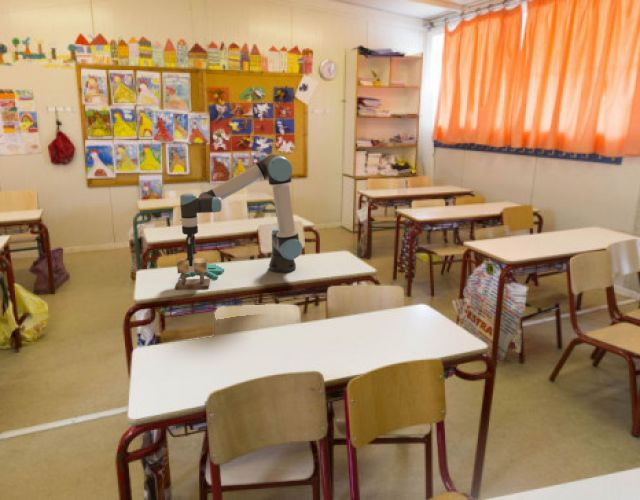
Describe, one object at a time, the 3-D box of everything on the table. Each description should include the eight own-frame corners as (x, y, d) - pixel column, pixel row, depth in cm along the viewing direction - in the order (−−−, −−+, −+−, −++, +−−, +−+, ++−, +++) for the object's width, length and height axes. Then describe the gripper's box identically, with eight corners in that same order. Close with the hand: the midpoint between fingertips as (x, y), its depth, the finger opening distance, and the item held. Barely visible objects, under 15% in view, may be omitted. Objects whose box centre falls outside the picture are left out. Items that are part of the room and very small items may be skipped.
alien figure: (216, 280, 257) (227, 268, 276) (216, 276, 256) (227, 264, 276) (180, 278, 259) (193, 267, 278) (180, 274, 258) (193, 263, 277)
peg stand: (210, 281, 254) (209, 266, 252) (208, 288, 244) (207, 273, 242) (178, 282, 252) (177, 267, 250) (175, 289, 242) (174, 274, 239)
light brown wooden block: (207, 267, 251) (206, 257, 249) (206, 272, 243) (206, 262, 242) (179, 268, 248) (178, 259, 247) (177, 273, 241) (177, 263, 239)
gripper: (184, 220, 249) (187, 263, 255) (179, 230, 229) (182, 276, 235) (199, 220, 250) (202, 262, 256) (195, 230, 230) (198, 275, 236)
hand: (192, 269), depth 246 cm, fingers closed on light brown wooden block, 8 cm apart
